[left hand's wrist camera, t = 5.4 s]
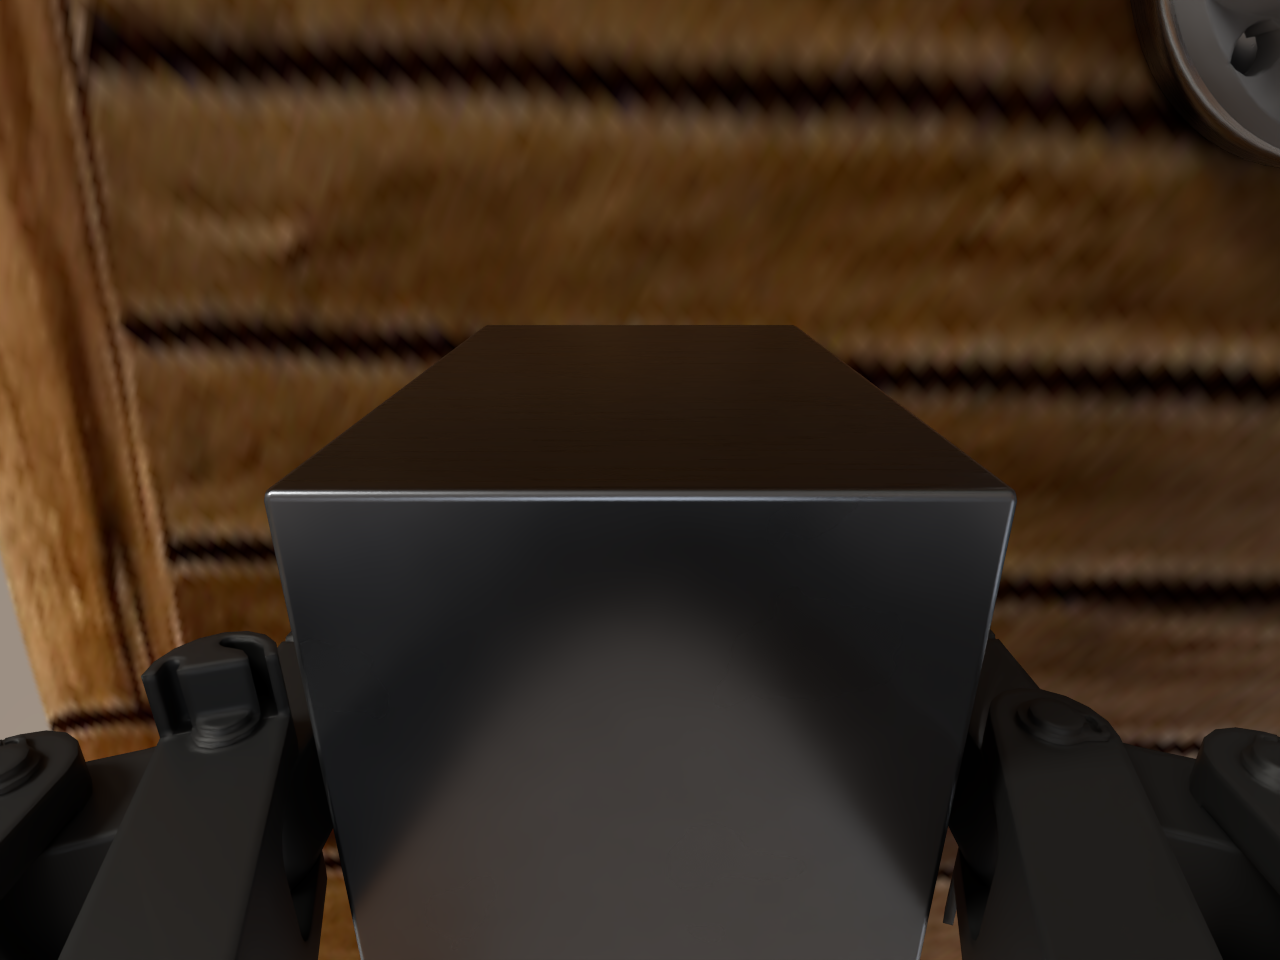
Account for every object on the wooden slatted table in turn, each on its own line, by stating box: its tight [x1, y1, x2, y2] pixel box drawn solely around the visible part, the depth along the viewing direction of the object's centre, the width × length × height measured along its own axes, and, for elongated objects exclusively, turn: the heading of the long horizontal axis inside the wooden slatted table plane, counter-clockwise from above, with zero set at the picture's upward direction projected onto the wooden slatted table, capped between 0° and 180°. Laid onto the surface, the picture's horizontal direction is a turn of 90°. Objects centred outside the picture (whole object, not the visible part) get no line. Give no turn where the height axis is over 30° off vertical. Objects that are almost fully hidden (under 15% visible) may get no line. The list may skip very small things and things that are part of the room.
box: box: [264, 325, 1017, 960], centre depth 13 cm, size 22×6×8 cm, turn 0°
